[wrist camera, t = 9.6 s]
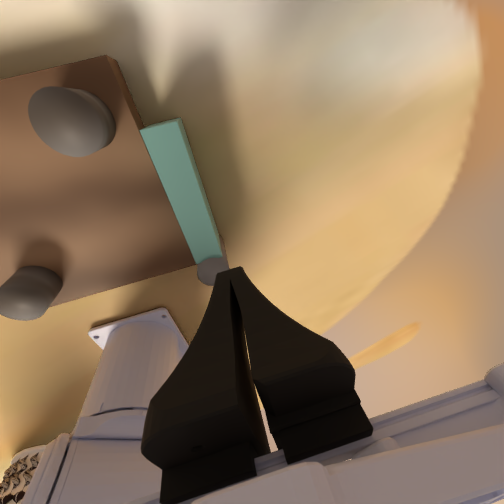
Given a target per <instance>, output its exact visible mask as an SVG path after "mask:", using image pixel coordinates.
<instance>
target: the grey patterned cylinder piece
mask: <svg viewBox="0 0 504 504" xmlns="http://www.w3.org/2000/svg"><path fill="white" fill-rule="evenodd" d="M46 446H47V445H38V446H34V447H30V448H26V449H24V450H22V451H20V452H18V453H16V454H15V456H14V457H13V458H12V460H11V466H10V468H8V469H7V470H6V471H5V472H4V474H5V475H4V477H3V481H2V483H1V484H0V504H21V502H22V500H23V497H24V495H25V493H26V490H27V488H28V486H29V484H30V481H31V479H32V477H33V475H34V472H35V470H36V468H37V466H38V463H39V461H40V459H41V457H42V454H43V452H44V450H45V448H46Z"/></svg>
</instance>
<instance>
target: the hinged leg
mask: <svg viewBox="0 0 504 504" xmlns="http://www.w3.org/2000/svg"><path fill="white" fill-rule="evenodd" d="M139 131H140V133H141V135H142V138H143V140H144V142H145V145H146V147H147V149H148V152H149V154H150V156H151V159H152V161H153V163H154V166H155V168H156V171H157V173H158V175H159V178H160V180H161V182H162V185H163V187H164V189H165V192H166V194H167V196H168V199H169V201H170V203H171V206H172V208H173V211H174V213H175V215H176V218H177V220H178V222H179V225H180V227H181V229H182V232H183V234H184V236H185V239H186V241H187V243H188V246H189V248H190V250H191V253H192V255H193V258H194V260H195V262H196V264H197V275H198V278H199V280H200V281H201V282H202V283H204V284H206V285H210V286H214V283H215V278H216V274H217V273H219V272H222V271H226V270H229V265H228V261H227V256H226V251H225V246H224V242H223V239H222V237H221V236H220V235H219V234H218V230H217V227H216V224H215V221H214V218H213V215H212V212H211V209H210V206H209V203H208V200H207V197H206V193H205V190H204V187H203V184H202V181H201V178H200V175H199V172H198V169H197V166H196V163H195V160H194V157H193V154H192V151H191V147H190V144H189V141H188V138H187V135H186V132H185V129H184V126H183V123H182V120H181V117H180V118H176V119H172V120H168V121H164V122H160V123H156V124H152V125H150V126H148V127H145V128H143V129H141V130H139Z"/></svg>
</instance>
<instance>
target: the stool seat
mask: <svg viewBox="0 0 504 504" xmlns="http://www.w3.org/2000/svg"><path fill="white" fill-rule="evenodd" d="M143 128H144V126H143V123H142V121H141V118H140V116H139V114H138V111H137V109H136V106H135V104H134V102H133V99H132V97H131V94H130V92H129V90H128V87H127V85H126V82H125V80H124V78H123V75H122V73H121V70H120V68H119V66H118V63H117V61H116V60H114V59H112V58H110V57H109V56H107V55H104V56H100V57H96V58H91V59H87V60H83V61H78V62H74V63H70V64H66V65H61V66H57V67H53V68H48V69H44V70H40V71H36V72H31V73H27V74H23V75H19V76H14V77H10V78H6V79H1V80H0V314H1V315H3V316H5V317H8V318H11V319H15V320H24V321H26V320H34V319H37V318H39V317H41V316H42V315H43V314H44V313H45V312H46V310H47V309H48V307H52V306H55V305H59V304H62V303H65V302H69V301H72V300H76V299H79V298H83V297H86V296H89V295H93V294H96V293H100V292H103V291H107V290H110V289H113V288H117V287H120V286H124V285H127V284H131V283H134V282H137V281H141V280H144V279H148V278H151V277H155V276H158V275H161V274H165V273H168V272H172V271H175V270H179V269H182V268H185V267H189V266H192V265H196V262H195V260H194V258H193V255H192V253H191V250H190V248H189V246H188V243H187V241H186V239H185V236H184V234H183V232H182V229H181V227H180V225H179V222H178V220H177V218H176V215H175V213H174V211H173V208H172V206H171V203H170V201H169V199H168V196H167V194H166V192H165V189H164V187H163V185H162V182H161V180H160V178H159V175H158V173H157V171H156V168H155V166H154V163H153V161H152V159H151V156H150V154H149V152H148V149H147V147H146V145H145V142H144V140H143V138H142V135H141V133H140V131H139V130H141V129H143Z"/></svg>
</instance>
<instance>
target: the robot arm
mask: <svg viewBox="0 0 504 504" xmlns="http://www.w3.org/2000/svg"><path fill="white" fill-rule="evenodd" d="M163 315H166V316H163ZM244 330H245V331H244ZM88 335H89V336H90V337H91V338H92V339H93V340H94V341H95V342H96V343H97V344H98V345H99V346H100V347H101V348H102V349H103V352H102V355H101V358H100V360H99V363H98V366H97V369H96V371H95V374H94V377H93V379H92V382H91V385H90V388H89V390H88V393H87V396H86V398H85V401H84V404H83V406H82V409H81V412H80V415H79V417H78V420H77V423H76V425H75V427H74V429H73V431H72V433H71V434H69V433H61V434H59V436H58V437H57V438H55V439H54V440H52V441H51V442H50V443H48V444H47V446H46V448H45V450H44V452H43V454H42V457H41V459H40V461H39V463H38V466H37V468H36V470H35V472H34V475H33V477H32V479H31V481H30V484H29V486H28V488H27V490H26V493H25V495H24V497H23V500H22V502H21V504H492V503H494V502H497V501H499V500H501V499H504V363H501V364H498V365H496V366H494V367H493V368H491V369H490V370H489V371H488V372H487V373H486V375H485V377H484V380H481V381H478V382H475V383H472V384H469V385H466V386H463V387H460V388H457V389H454V390H452V391H449V392H446V393H443V394H440V395H437V396H434V397H431V398H428V399H425V400H423V401H420V402H417V403H414V404H411V405H408V406H405V407H402V408H400V409H397V410H394V411H391V412H388V413H385V414H382V415H379V416H376V417H373V418H370V419H368V417H367V416H366V414H365V412H364V410H363V408H362V407H361V405H360V402H361V401H360V399H359V397H358V395H357V393H356V391H355V390H354V385H355V370H354V368H353V366H352V365H351V363H350V362H349V360H348V359H347V358H346V356H345V355H344V354H343V353H342V352H341V350H340V349H339V348H338V347H337V346H336V345H335V344H334V343H333V342H332V341H330V340H328V339H326V338H324V337H322V336H320V335H318V334H316V333H314V332H312V331H311V330H309V329H307V328H306V327H304V326H302V325H301V324H299V323H298V322H296V321H295V320H293V319H292V318H290V317H289V316H287V315H286V314H285V313H283V312H282V311H281V310H279V309H278V308H277V307H276V306H274V305H273V304H272V303H271V302H270V301H269V300H268V299H267V298H266V297H265V296H264V295H263V294H262V293H261V292H260V291H259V290H258V289H257V288H256V287H255V286H254V284H253V283H252V282H251V281H250V279H249V278H248V277H247V275H246V273H245V272H244V270H243V267H240V266H239V267H236V268H233V269H229V270H226V271H222V272H219V273H217V274H216V278H215V283H214V287H213V291H212V295H211V298H210V301H209V304H208V307H207V309H206V312H205V315H204V317H203V320H202V322H201V324H200V326H199V328H198V330H197V333H196V335H195V336H194V338H193V340H192V342H191V344H190V345H188V343H187V342H186V340H185V338H184V337H183V335H182V333H181V332H180V330H179V329H178V327H177V325H176V324H175V322H174V320H173V319H172V317H171V315H170V314H169V312H168V310H167V309H166V308H158V309H155V310H151V311H148V312H145V313H141V314H138V315H135V316H131V317H128V318H125V319H121V320H118V321H115V322H111V323H108V324H105V325H101V326H98V327H95V328H91V329H90V330H89V332H88ZM96 335H97V336H96ZM245 335H246V338H245ZM246 341H247V346H246ZM247 347H248V353H249V359H250V364H249V359H248V353H247ZM250 366H251V368H250ZM254 384H255V385H254ZM255 387H256V389H257V392H258V394H259V397H260V399H261V402H262V404H263V407H264V409H265V412H266V417H267V421H268V426H269V430H270V433H271V434H272V436H273V438H274V440H275V443H276V445H277V448H278V451H275V452H272V453H271V451H270V447H269V444H268V439H267V435H266V431H265V427H264V423H263V419H262V415H261V411H260V406H259V402H258V398H257V394H256V390H255ZM351 458H352V459H351ZM348 459H351V460H348ZM346 460H348V461H346ZM343 461H344V462H343Z"/></svg>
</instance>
